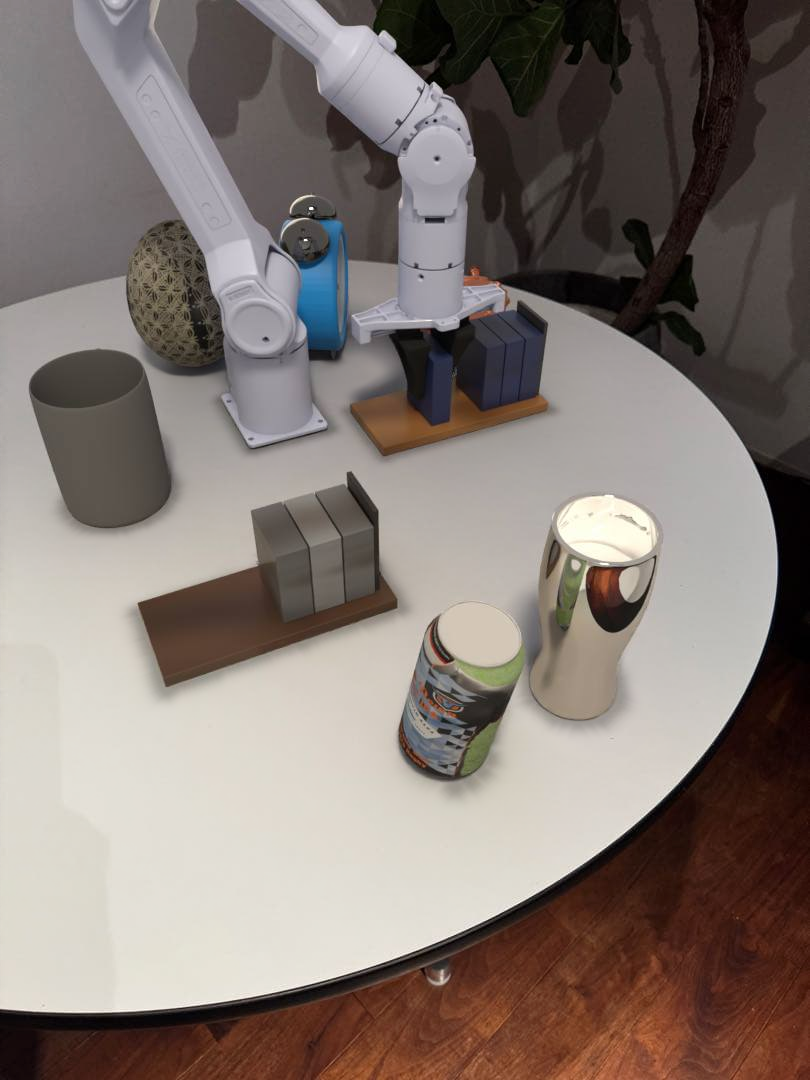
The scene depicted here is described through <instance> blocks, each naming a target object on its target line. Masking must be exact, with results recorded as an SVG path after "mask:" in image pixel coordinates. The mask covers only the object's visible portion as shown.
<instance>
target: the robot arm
mask: <svg viewBox="0 0 810 1080" xmlns="http://www.w3.org/2000/svg"><path fill="white" fill-rule="evenodd" d="M160 2H161V0H72V11H73V23H74V24H73V25H74V30H75V33H76V36H77V38H78V41H79V43H80V45H81V47H82V48H83V50H84V52H85V54H86V55H87V57H88V59H89V60H90V63H91V64H92V65H93V68H94V69H95V71H96V72H97V74H98V76H99V78H100V80H101V81H102V83H103V85H104V86H105V88H106V89H107V91H108V93H109V95H110V96H111V99H112V100H113V101H114V104H115V105H116V107H117V108H118V110H119V112H120V113H121V116H122V117H123V119H124V121H125V123H126V124H127V126H128V127H129V129H130V131H131V132H132V134H133V136H134V138H135V140H136V141H137V143H138V144H139V146H140V149H141V150H142V151H143V153H144V155H145V156H146V158H147V160H148V161H149V163H150V165H151V167H152V169H153V171H154V172H155V174H156V176H157V177H158V179H159V181H160V182H161V184H162V186H163V188H164V189H165V191H166V193H167V194H168V196H169V198H170V200H171V201H172V203H173V204H174V206H175V208H176V210H177V211H178V213H179V215H180V216H181V218H182V220H184V222H185V223H186V225H187V227H188V229H189V230H190V232H191V234H192V235H193V237H194V239H195V241H196V242H197V244H198V246H199V247H200V249H201V251H202V253H203V254H204V257H205V261H206V266H207V271H208V276H209V282H210V287H211V291H212V294H213V295H214V297H215V299H216V300H217V302H218V304H219V306H220V309H221V316H222V328H223V331H224V334H225V335H224V340H223V347H224V354H225V355H224V360H225V368H226V374H227V379H228V381H227V382H228V387H229V392H227V393H224V394H223V393H222V395H221V396H220V398H221V402H222V403H223V405H224V408H225V409H226V411H227V412H228V414H229V416H230V418H231V419H232V421H233V423H234V425H235V426H236V428H237V430H238V432H239V433H240V435H241V436H242V438H243V440H244V441H245V443H246V445H247V447H248V448H250V449H256V448H259V447H263V446H267V445H270V444H271V445H272V444H274V443H278V442H282V441H287V440H290V439H293V438H298V437H302V436H305V435H309V434H313V433H317V432H320V431H324V430H326V429H328V427H329V424H328V422H327V420H326V419H325V417H324V416H323V415H322V412H321V411H320V410H319V409H318V408H317V406H316V405H315V403H314V402H313V398H312V397H313V396H312V385H311V371H310V358H309V349H308V343H307V329H306V327H305V325H304V323H303V322H302V321H301V319H300V318H299V316H298V315H297V306H298V299H299V295H300V293H301V288H302V275H301V271H300V269H299V267H298V265H297V263H296V262H295V260H294V259H293V258H292V257H291V256H290V255H288V254H287V253H286V252H284V251H283V250H282V249H280V248H279V245H278V244H277V243H276V242H275V240H274V238H273V237H272V235H271V233H270V231H269V230H268V229H267V228H266V227H265V226H264V225H262V224H261V223H259V222H257V221H256V219H254V216H253V214H252V213H251V211H250V208H249V207H248V205H247V203H246V201H245V199H244V197H243V196H242V194H241V192H240V190H239V188H238V186H237V184H236V183H235V180H234V178H233V177H232V175H231V173H230V171H229V169H228V167H227V165H226V164H225V161H224V159H223V157H222V156H221V154H220V152H219V150H218V148H217V146H216V144H215V142H214V140H213V138H212V136H211V135H210V132H209V131H208V129H207V127H206V125H205V123H204V122H203V120H202V118H201V115H200V114H199V112H198V110H197V108H196V106H195V104H194V102H193V100H192V99H191V97H190V95H189V93H188V91H187V89H186V87H185V86H184V83H183V81H182V80H181V78H180V75H179V74H178V72H177V70H176V68H175V66H174V64H173V62H172V61H171V58H170V57H169V55H168V53H167V51H166V49H165V47H164V46H163V44H162V41H161V39H160V38H159V36H158V34H157V32H156V30H155V21H156V17H157V14H158V10H159V5H160ZM236 2H238V3H239V4H240V5H241V6H243V8H245V9H246V10H247V11H248V12H250V13H251V14H252V15H253V16H255V17H256V18H257V19H258V20H259V21H261V22H262V23H263V24H264V25H265V26H266V27H268V28H269V29H270V30H272V31H273V32H274V33H275V34H276V35H277V36H278V37H279V38H281V39H282V40H283V41H285V42H286V43H287V44H288V45H289V46H290V47H292V48H293V49H294V50H295V51H297V52H298V53H299V54H300V55H302V57H304V58H305V59H306V60H307V61H309V62H310V63H311V64H312V65H313V66H314V69H315V73H316V82H317V83H316V84H317V90H318V93H319V94H320V96H322V97H323V99H325V100H326V101H327V102H328V103H330V104H331V105H332V106H333V107H334V108H335V109H336V110H337V111H339V112H340V113H341V114H342V115H343V116H344V117H345V118H347V119H348V120H349V121H350V122H351V123H352V124H353V125H354V126H355V127H357V128H358V129H359V130H360V131H361V132H362V133H363V134H365V136H367V137H368V138H369V139H370V140H371V141H372V142H374V144H376V145H377V146H378V147H379V148H380V149H381V150H383V151H385V152H388V153H390V154H393V155H394V156H396V157H397V166H398V171H399V174H400V176H401V196H400V199H399V201H398V255H397V256H398V257H397V258H398V261H397V262H398V263H397V264H398V265H397V266H398V267H397V269H398V270H397V271H398V273H397V277H398V278H397V281H398V283H397V285H398V287H397V288H398V289H397V293H398V294H397V296H395V297H393V298H391V299H389V300H387V301H385V302H382V303H380V304H378V305H376V306H373V307H372V308H369V309H367V310H365V311H362V312H359V313H354V314H351V316H350V317H351V335H352V336H353V338H354V339H355V340H356V342H358V343H359V344H360V345H365V344H369V343H371V342H372V339H374V338H377V337H382V336H387V335H388V337H389V339H390V341H391V343H392V345H393V346H394V349H395V351H396V353H397V356H398V357H399V361H400V363H401V366H402V370H403V373H404V376H405V381H406V387H407V386H408V391H409V392H410V393H411V394H412V395H413V397H414V398H415V399H416V400H421V399H423V398H424V393H425V371H426V365H427V360H428V356H429V352H430V350H431V347H432V346H431V345H430V344H429V343H428V342H427V341H426V340H425V339H424V338H423V334H424V333H423V332H422V331H421V328H430V333H431V336H432V337H433V338H434V339H435V340H436V341H437V342H438V343H439V344H440V345H441V346H442V347H443V348H444V349H445V350H446V351H447V352H448V353H449V354H450V355H451V356H452V357H453V369H452V377H453V376H454V373H455V372H456V366H457V364H458V362H459V360H460V358H461V356H462V355H463V353H464V351H465V350H466V348H467V347H468V345H469V344H470V343H471V342H472V341H473V339H474V338H475V330H476V328H475V326H474V325H473V324H472V323H471V322H470V321H469V317H470V315H473V314H478V313H482V312H486V311H492V312H493V313H499V312H503V311H504V306H505V295H506V292H504V291H503V290H502V289H501V288H500V287H498V286H497V285H496V284H490V285H484V286H466V287H463V279H464V277H465V263H466V261H465V259H466V243H467V230H468V229H467V227H468V212H469V211H468V210H469V205H468V201H467V198H466V197H467V194H468V191H469V180H471V177H472V175H473V173H474V170H475V167H476V164H477V158H476V156H474V155H475V154H474V143H473V141H472V136H471V132H470V128H469V124H468V121H467V119H466V117H465V114H464V113H463V111H462V110H461V109H460V108H459V106H458V105H457V103H456V100H455V98H453V96H450V95H448V94H445V93H444V91H443V88H442V87H440V86H439V85H438V84H437V83H436V82H435V81H433V82H431V83H430V85H429V84H428V83H427V82H426V81H425V80H424V79H423V78H422V77H421V76H420V75H419V74H418V73H416V71H415V70H414V69H412V68H411V67H410V66H409V65H408V63H406V62H405V60H403V59H402V58H401V57H400V56H399V55H398V54H397V53H396V52H395V50H397V41H396V39H395V38H394V37H393V36H392V35H390V33H389V32H388V31H386V30H381V32H380V33H379V35H377V33H376V32H374V31H373V30H372V29H371V28H370V27H369V26H368V25H341V24H339V23H338V22H337V21H336V20H335V19H334V17H332V16H331V14H329V12H327V10H326V9H325V8H323V6H322V5H321V4H320V3H319V2H318V1H317V0H236Z"/></svg>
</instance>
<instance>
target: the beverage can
mask: <svg viewBox="0 0 810 1080" xmlns="http://www.w3.org/2000/svg"><path fill="white" fill-rule="evenodd" d="M525 660H526V650H525V646H524V643H523V638H522V633H521V629H520V627H519V625H518V623H517V622H516V620H514V618H513V617H512V616H511V615H510V614H509V613H508V612H507V611H505V610H504V609H503V608H502V607H499V606H498V605H496V604H493V603H490V602H487V601H483V600H476V599H465V600H460V601H457V602H454V603H452V604H450V605H449V606H448V607H446V608H445V609H444V610H443V611H442V612H441V613H439V614H438V615H437V616H435V617H433V619H432V620H431V621H430V623H429V624H428V625H427V627H426V630H425V632H424V635H423V639H422V642H421V646H420V649H419V652H418V655H417V660H416V664H415V667H414V671H413V674H412V677H411V681H410V684H409V688H408V692H407V695H406V698H405V699H406V700H405V702H404V705H403V706H404V707H403V709H402V714H401V717H400V721H399V725H398V740H399V744H400V746H401V749H402V751H403V753H404V754H405V756H406V757H407V758H408V760H409V761H410V762H411V763H412V764H413V765H414V766H416V767H417V768H418V769H420V770H421V771H424V773H427V774H429V775H432V776H436V777H440V778H451V779H452V778H460V777H464V776H467V775H469V774H471V773H473V772H474V771H475V770H477V769H478V768H479V767H480V766H482V764H483V763H484V761H485V760H486V758H487V756H488V754H489V752H490V749H491V746H492V744H493V742H494V739H495V736H496V734H497V732H498V730H499V727H500V725H501V722H502V720H503V717H504V716H505V713H506V711H507V708H508V706H509V704H510V701H511V698H512V696H513V693H514V691H515V688H516V686H517V684H518V681H519V679H520V676H521V674H522V672H523V669H524V666H525Z"/></svg>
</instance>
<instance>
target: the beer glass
mask: <svg viewBox="0 0 810 1080" xmlns="http://www.w3.org/2000/svg"><path fill="white" fill-rule="evenodd" d="M663 542H664V530H663V526H662V524H661V522H660V520H659V519H658V518H657V516H656V515H655V514H654V513H653V512H652V511H651V510H650V509H649V508H648V507H646V506H645V505H643V504H642V503H640V502H639V501H637V500H635V499H632V498H630V497H627V496H624V495H622V494H616V493H612V492H603V491H602V492H601V491H595V492H594V491H593V492H584V493H580V494H577V495H574V496H573V495H572V496H571V497H569V498H567V499H565V500H564V501H562V502H561V503H559V505H558V506H556V508H555V510H554V512H553V513H552V516H551V522H550V527H549V530H548V534H547V537H546V540H545V544H544V547H543V548H544V549H543V552H542V557H541V562H540V568H539V577H538V587H537V588H538V589H537V590H538V591H537V592H538V596H537V597H538V598H537V599H538V612H539V624H540V638H541V640H540V647H539V651H538V653H537V655H536V658H535V660H534V662H533V663H532V666H531V669H530V673H529V687H530V690H531V693H532V695H533V697H534V699H535V700H536V701H537V702H538V703H539V705H540V706H541V707H543V708H544V709H546V710H547V712H549V713H551V714H552V715H556V716H558V717H560V718H564V719H568V720H574V721H575V720H576V721H583V720H590V719H594V718H596V717H599V716H600V715H602V714H604V713H606V712H607V711H608V710H609V709H610V707H611V706H612V705H613V704H614V702H615V699H616V696H617V691H618V677H617V675H618V666H619V663H620V660H621V657H622V656H623V653H624V652H625V650H626V649H627V646H628V645H629V644H630V641H631V640H632V638H633V637H634V635H635V633H636V631H637V630H638V628H639V626H640V624H641V622H642V620H643V618H644V615H645V613H646V611H647V609H648V606H649V603H650V600H651V597H652V595H653V591H654V587H655V583H656V579H657V574H658V568H659V562H660V556H661V550H662V545H663Z"/></svg>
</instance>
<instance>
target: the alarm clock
mask: <svg viewBox="0 0 810 1080" xmlns="http://www.w3.org/2000/svg"><path fill="white" fill-rule="evenodd" d="M315 193H316V192H311V195H310V194H309V195H303V196H300V197H298V198H297V199H296V200H294V201H293V202H292V204H291V205H290V208H289V212H288V213H289V214H288V215H289V218H291V219H287V220H285V221H284V223H283V225H282V227H281V230H280V234H279V240H278V247H279V248H280V249H282V250H283V251H284V252H286V253H287V254H288V255H290V256H291V257H292V258H293V259H294V260H295V262H296V263H297V265H298V267H299V269H300V271H301V275H302V288H301V293H300V295H299V299H298V306H297V315H298V316H299V318H300V319H301V321H302V322H303V323H304V325H305V327H306V329H307V343H308V350H314V351H320V350H321V351H330V352H331V358H332V360H335V359H336V352H337V351H340V350H341V349H342V348H343V347H344V344H345V341H346V334H347V326H348V325H347V324H348V312H349V311H348V309H349V304H348V303H349V255H348V243H347V235H346V229H345V226H344V224H343V223H342V222H341V221H340V220H337V218H338V216H337V209H336V206H335V205H334V204H333V203H332V201H330V200H329V199H328V198H326V197H324V196H321V195H316V194H315Z"/></svg>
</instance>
